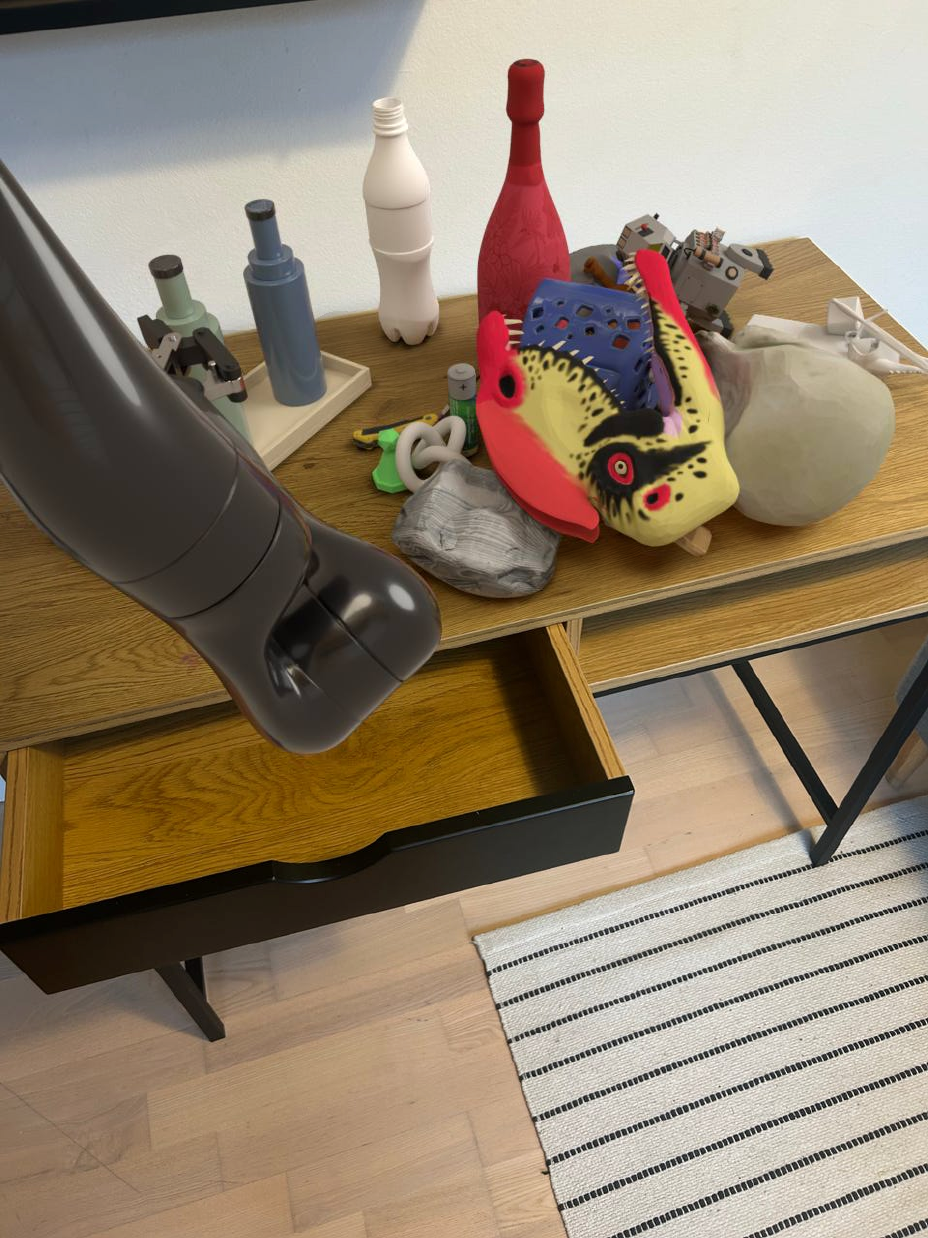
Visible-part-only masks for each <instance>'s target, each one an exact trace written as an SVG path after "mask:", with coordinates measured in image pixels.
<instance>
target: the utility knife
mask: <svg viewBox="0 0 928 1238" xmlns="http://www.w3.org/2000/svg"><path fill="white" fill-rule="evenodd" d="M440 414H441V413H440ZM440 414H436V413H434V412H433V413H428V414H425V415H422V416H418V417H415V418H412V419H403V420H399V421H396V422H393V423H389V424H384V425H379V426H375V427H374V426H373V427H367V428H363V429H357V430H354V431H353V433H352V439H353V444H354V445H356V447H357V448H360V449H364V450H365V449H366V450H373V449H374V448H376V447H380V446H379V445H378V438H379V431H383V430H387V429H392V428H393V429H394V430H395V431H396V432H397V433H398V434H399V435H400V434H401V432H402V431H403V430H404V428H405V427H407V426H408V425H409V424H411V423H414V422H424V423H427V424H429V425H430V426H432V427H433V423H434V422H435V421H436V419H437V418H438V417H439V416H440ZM449 416H450V412H449V413H448V414H447V415H446V416H445V417H444V418H446V417H449ZM444 418H443V419H444ZM417 440H421V438H420V437H418V438H416V439H415V441H417Z"/></svg>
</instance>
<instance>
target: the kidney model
mask: <svg viewBox="0 0 928 1238" xmlns="http://www.w3.org/2000/svg"><path fill="white" fill-rule="evenodd" d="M616 251H618V250H617V247H616V244H614V243H602V244H596V245H589V246H585V247H583V248H579V249H577V250H574V251H572V252H569V256H570V282H573V283H580V284H585V285H592V286H598V287H603V288H606V287H605V286H604V285H603V284H602V282H601V280H598V279H596V278H595V277H594V276H593V275H592V274H587V273H585V272H584V271H583V269H584V263H585V262H586V261H587V259H588V258H590V257H593V258H595V259H596V260H597V261H598V264H599V266H600V267H601V268H602V269H603V270H604V271H605V273H606V275H608V276H609V277H610V278H611V279H612V280H613V282H615V283H616V284H626V282H627V281H629V280H630V279H631V278H632V277H633V276H627V277H622V276H624V275H625V274H626V273H629V272H628V271H627V270H626V271H624V270H625V269H622V268H623V267H622V263H621V262H620V261H618V259H617V256H616ZM587 268H588V267H587ZM620 269H621V270H620ZM621 277H622V278H621ZM635 280H636V279H635ZM635 280H634V281H635ZM634 281H633V282H634ZM634 287H635V288H636V289H637V290H638V289H639V288H640V287H641V286H640V284H639V283H638V284H637V285H635V286H634ZM592 312H593V311H590V310H588V309H585V308H581V309H580V311H579V312H578V313H577V316H579V317H582V318H587V317H589V316H590V315H591V313H592ZM568 323H569V322H567V324H568Z"/></svg>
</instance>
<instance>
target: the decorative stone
mask: <svg viewBox="0 0 928 1238" xmlns="http://www.w3.org/2000/svg"><path fill="white" fill-rule="evenodd" d="M472 465H473V464H472ZM472 465H470V464H468V463H466V462H464V461H462V460H459V459H451V460H450V461H449V462H447V463H446V464H445V465H444V466H443V467H442V469H441V470H440V471H439V472H438V473H437V474H436V475H434V476H433V477H431V476H430V477H431V478H430V477H429V478H430V479H429V480H428V481H426V482H425V483H424V484H423V485H422V486H421V487H420V488H418V490H417V491H416V492H415V493H412V495H411V496H409V497H407V499H406V500H405V501H404V502H403V504H402V506H401V508H400V510H399V513H398V515H397V516H396V518H395V520H394V524H393V527H392V531H391V534H390V540H391V542H392V543H393V544H394V545H395V546H396V547H397V548H398V549H399V551H401V553H403V554H405V555H406V556H407V558H408V559H409V560H410V561H411V562H412V563H414V564H415V565H417V566H418V567H420V568H421V569H423V570H425V571H426V572H428V573H429V574H431V575H432V576H433V577H435V578H437V579H439V580H440V581H442V582H444V583H445V584H447V585H450V586H451V587H453V588H455V589H458V590H460V591H462V592H465V593H468V594H473V595H476V596H481V597H487V598H493V599H495V598H496V599H498V598H499V599H502V598H504V599H506V598H507V599H510V598H520V597H525V596H529V595H533V593H537V592H539V591H540V590H542V589H544V588H545V587H546V585H547V584H548V583H549V582H550V580H551V579H552V578H553V576H554V573H555V570H556V569H555V568H556V567H557V559H558V552H559V548H560V545H561V542H562V538H563V537H562V536H563V534H562V533H561V532H558V531H556V530H554V529H552V528H550V527H548V526H546V525H544V524H543V523H541V522H539V521H537V520H536V519H535V518H533V517H532V516H531V515H530V514H529V513H528V512H526V511H525V510H524V509H523V508H522V507H521V506H520V505H519V504H518V503H517V501H516V500H515V499H514V498H513V497H512V495H511V494H510V493H509V492H508V490H507V489H506V488H505V487H504V485H503V484H502V483H501V481H500V480H499V478H498V476H497V474H496V473H495V471H494V470H492V469H488V468H485V467H481V466H474V465H473V466H472Z"/></svg>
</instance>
